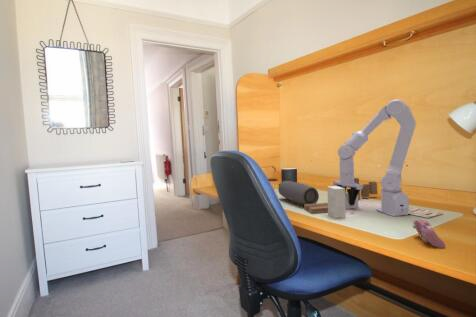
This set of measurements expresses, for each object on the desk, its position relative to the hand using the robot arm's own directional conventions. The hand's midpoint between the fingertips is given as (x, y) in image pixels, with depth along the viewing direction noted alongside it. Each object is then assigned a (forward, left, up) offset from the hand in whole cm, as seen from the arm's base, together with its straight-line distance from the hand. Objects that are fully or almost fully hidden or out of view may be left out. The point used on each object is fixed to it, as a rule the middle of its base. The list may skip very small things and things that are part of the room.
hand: (347, 203), depth 117 cm
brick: (0, 0, -2) cm, 2 cm away
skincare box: (-12, +11, -2) cm, 17 cm away
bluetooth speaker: (+15, +17, -2) cm, 23 cm away
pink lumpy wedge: (-42, 0, -2) cm, 42 cm away
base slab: (-2, +12, -2) cm, 12 cm away
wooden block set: (+15, -15, -2) cm, 21 cm away
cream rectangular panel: (-9, +4, -2) cm, 10 cm away
